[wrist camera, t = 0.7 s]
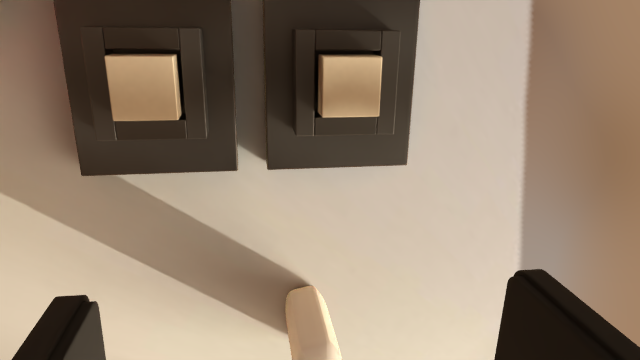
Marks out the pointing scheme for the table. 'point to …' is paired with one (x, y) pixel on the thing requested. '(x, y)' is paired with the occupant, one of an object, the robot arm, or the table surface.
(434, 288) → the table surface
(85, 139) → the block
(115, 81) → the key
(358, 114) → the key
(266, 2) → the block
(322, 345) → the eye dropper bottle
